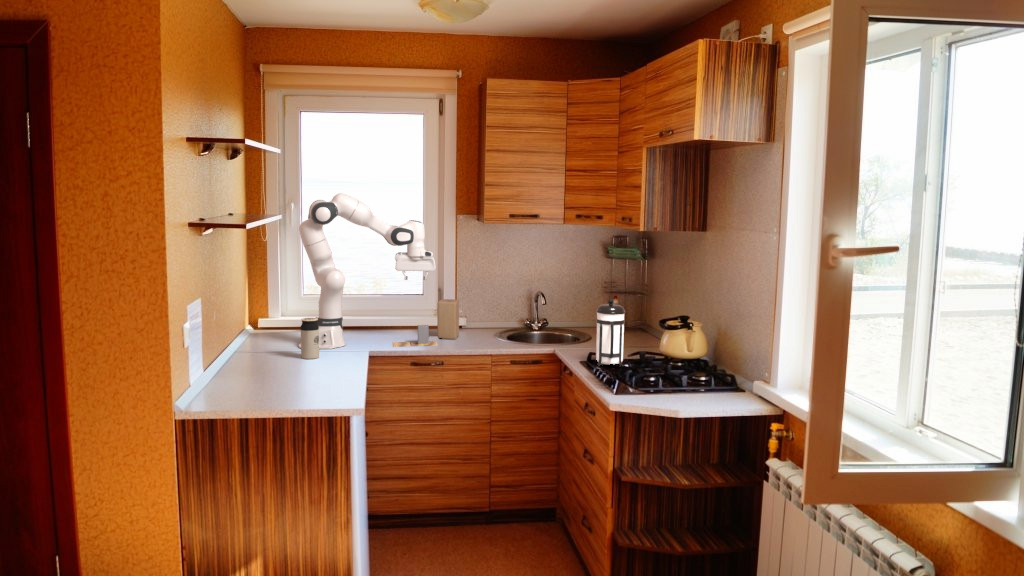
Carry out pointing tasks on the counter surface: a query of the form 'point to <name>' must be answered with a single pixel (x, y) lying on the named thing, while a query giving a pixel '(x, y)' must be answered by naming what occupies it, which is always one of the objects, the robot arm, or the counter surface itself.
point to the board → (412, 344)
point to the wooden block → (448, 319)
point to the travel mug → (309, 338)
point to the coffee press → (610, 333)
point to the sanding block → (423, 335)
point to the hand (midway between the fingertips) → (415, 279)
